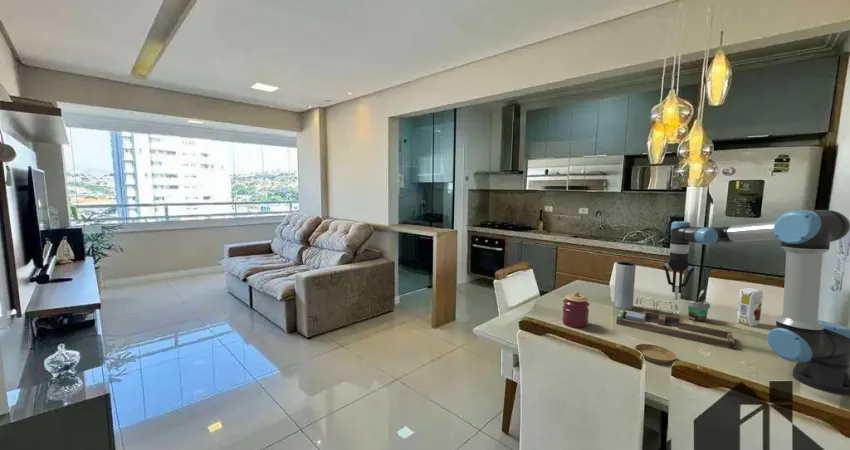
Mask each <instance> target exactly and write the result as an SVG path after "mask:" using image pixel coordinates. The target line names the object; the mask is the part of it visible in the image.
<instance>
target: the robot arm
mask: <svg viewBox="0 0 850 450" xmlns="http://www.w3.org/2000/svg"><path fill="white" fill-rule="evenodd" d="M670 226H671V227H670V243H669V244H670V245H669V251H670V252H669V260H668V262H667V263H665V264H662V268H663V270H664V271H665V272H664V273H665V275H666V279H667V284H668V285H670V286H672V288H671V293H673V294H674V300H676V301H678V300H679V296H680V295H679V294H682V291H683V289H682V288H683V287H687V284H688V282H689V280H690V277H691V275H692V273H693V272H694V271H695V268H694V267H693V266H691V265H690V263H689V256H690V255H689V252H690V243H693V244H699V245H700V244H701V245H713V244H721V243H722V244H723V243H724V244H728V243H729V244H730V243H739V242H741V243H742V242H756V241H757V242H759V241H775V240H777V241H778V240H779V241H780V247H781V248H782V249H783V250H784V251H785V253H786V254H785V269H784V270H785V271H784V285H783V287H784V288H783V301H782V316H780V317H777V318H776V320H775V328H772V329H771V330H770V331H768V333H767V336H766V340H767V344H768V346H769V347H770V350H772V351H773V352H774V353H775V354H776V355H777V356H778V357H780V358H782V359H784V360H786V361H789V362H794V363H795V362H796V363H795V365H794V367H792V372H791V374H792V375H791V376H792V377H793V378H794V379H795V380H797V381H798V382H800V383H802V384H805V386H809V387H811V388H814V389H817V390H820V391H824V392H826V393H827V392H828V393H832V394H836V393H838V394H839V395H850V328H849V327H847V326H844V325H841V324H837V323H833V322H829V321H824V320H820V319H819V307H820V292H821V277H822V265H823V264H822V263H823V262H822V261H823V254H824V253H827V252H828V251H829V250H830V245H831V243H832V242H835V241H840V240H842V239H843V238H845V236H847V235H848V233H849V231H850V220H849V219H848V218H847V217H846V216H845V214H843V213H842V212H841V213H840V212H838V211H835V210H833V209H832V210H831V209H798V210H791V211H787V212H786V213H783V214H782V215H780V216H779V217H778V218H776V220H774V221H767V222H766V221H765V222H758V223H757V222H754V223H747V224H738V225H737V224H736V225H728V226H705V227H703V226H702V227H701V226H700V227H699V226H692V225H691V222H690V221H682V220H681V221H677V220H675V221H672V223H671V225H670ZM669 268H670V269H671V270H672V279H671V276H670V271H669ZM685 270H688V271H687V273H686V276H685V278H684V281H683V275H684V271H685ZM677 272H679V276H678V277H679V278H678V279H679V280H678V285H676V283H677Z"/></svg>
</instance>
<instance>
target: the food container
mask: <svg viewBox="0 0 850 450" xmlns="http://www.w3.org/2000/svg"><path fill="white" fill-rule="evenodd" d="M687 306H688V309H687V310H688V311H687V313H688V314H687V315H688V319H687V320H689V321H692V322H698V323H705V322H707V318H708V313H709V309H711V304H710V302H708V301H706V300H703V301H701V302H699V301H696V302H690V301H688V303H687Z"/></svg>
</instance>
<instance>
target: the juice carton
mask: <svg viewBox="0 0 850 450" xmlns="http://www.w3.org/2000/svg"><path fill="white" fill-rule="evenodd" d="M762 303H763V290H761V289H757V288H752V287H746V288H740V291H739V295H738V306H737V314H736V323H738V324H740V325H744V326H747V327H754V326H755V327H756V326H759V324H760V322H761V321H760V320H761V312H762V305H763V304H762Z"/></svg>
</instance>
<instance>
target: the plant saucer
mask: <svg viewBox="0 0 850 450" xmlns="http://www.w3.org/2000/svg"><path fill="white" fill-rule="evenodd" d="M634 349H635V350H638V351H640V352H641V353H642V354H643V356H644V357H645V358H644V359H645V360H647V361H650V362H651V363H657V364H669V363H671V362H673V361H675V360H676V358H677V356H676V354H675V353H674V352H673V351H671V350H669V349H668V348H665V347H662V346H660V345H655V344H649V343H640V344H639V343H638V344H635V346H634Z"/></svg>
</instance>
